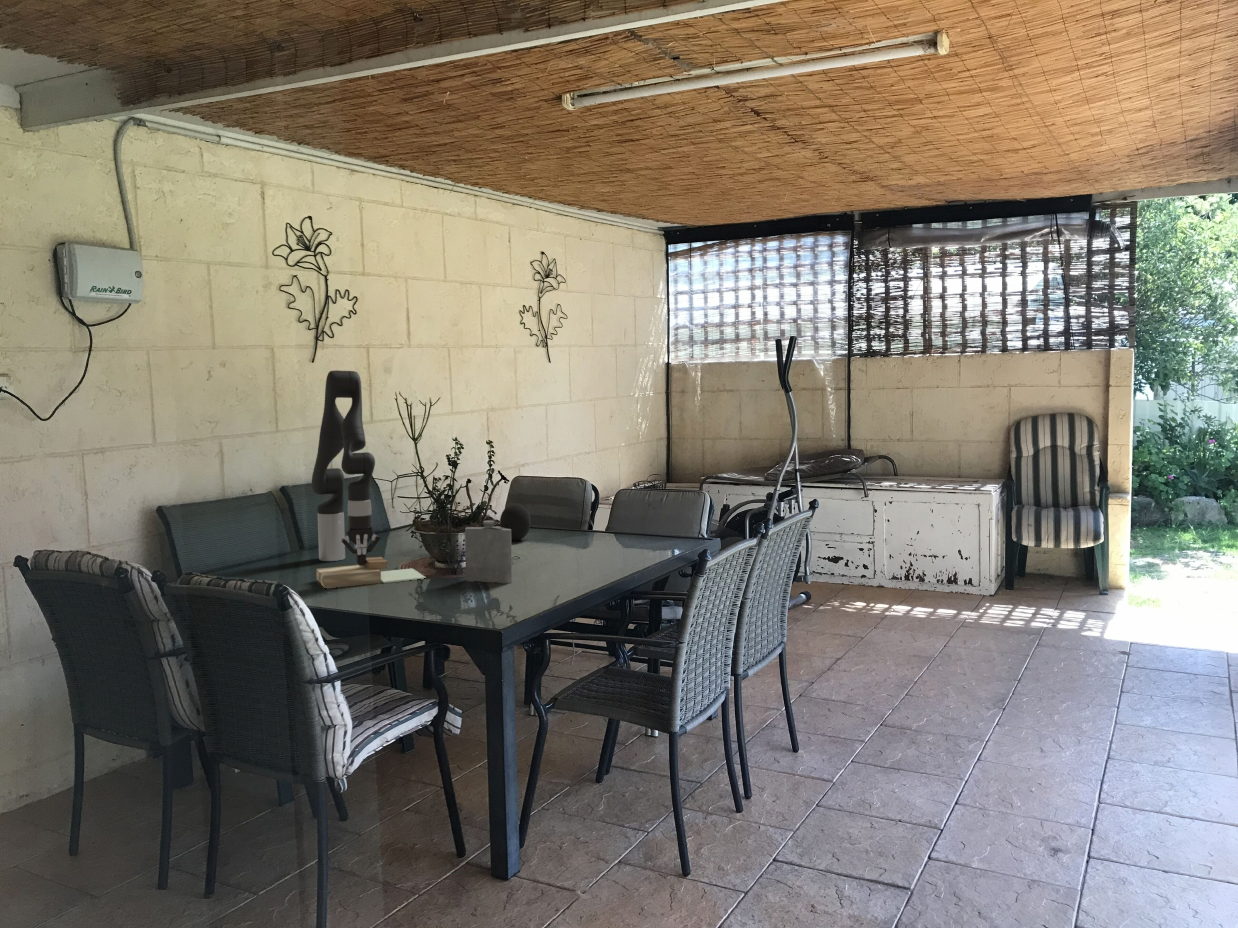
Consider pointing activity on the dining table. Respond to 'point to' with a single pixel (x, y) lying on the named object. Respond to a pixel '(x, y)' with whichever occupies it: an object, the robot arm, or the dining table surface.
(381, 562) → the walnut tile
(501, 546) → the hip flask
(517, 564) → the dining table surface
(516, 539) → the decorative egg
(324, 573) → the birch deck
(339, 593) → the dining table surface
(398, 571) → the sage mat
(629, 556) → the dining table surface
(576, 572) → the dining table surface
